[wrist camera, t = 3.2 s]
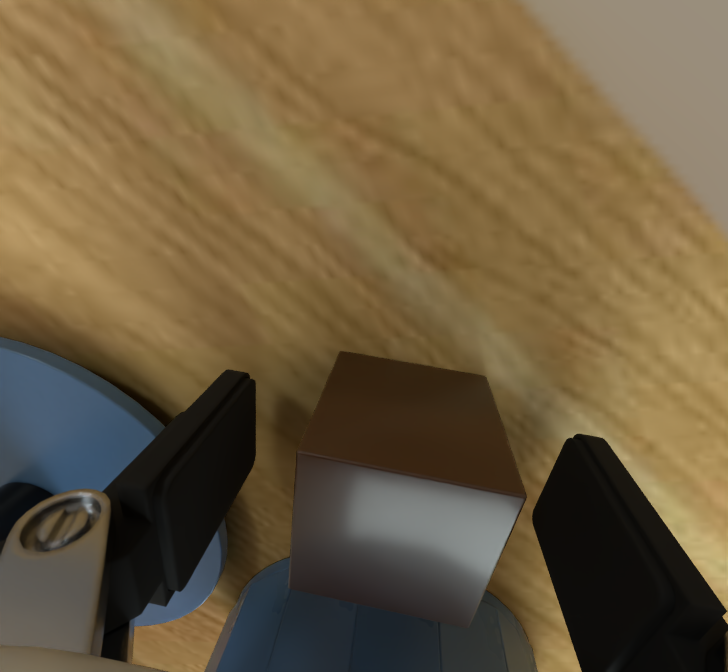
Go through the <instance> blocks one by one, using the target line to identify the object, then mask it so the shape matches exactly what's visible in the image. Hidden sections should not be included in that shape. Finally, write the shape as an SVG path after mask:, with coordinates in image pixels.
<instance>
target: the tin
mask: <svg viewBox="0 0 728 672" xmlns="http://www.w3.org/2000/svg"><path fill="white" fill-rule="evenodd" d="M289 565H290V557H289V558H286V559H283V560H281V561H278V562H276V563H274V564H272V565H270V566H268V567H267V568H265V569H263V570H262V571H261V572H259V573H258V574H257V575H255V576H254V577H253V578H252V579H251V580H250V581H249V583H248V584H247V585H246V586H245V587H244V589H243V591H242V592H241V594H240V596H239V598H238V600H237V603H236V605H235V606H234V608H233V609H232V610H231V611H230V613H229V615H228V618H227V620H226V622H225V625H224V627H223V629H222V632H221V634H220V636H219V639H218V641H217V644H216V646H215V648H214V651H213V653H212V655H211V658H210V660H209V662H208V665H207V667H206V669H205V672H538V670H537V666H536V662H535V658H534V654H533V650H532V647H531V645H530V644H529V641H528V638H527V636H526V634H525V632H524V630H523V628H522V626H521V624H520V623H519V622H518V620H517V619H516V618H515V616H514V615H513V614H512V613H511V611H510V610H509V609H508V608H507V607H506V606H505V605H503V604H502V603H501V602H500V601H499V600H498V599H497V598H496V597H494V596H493V595H492V594H490V593H489V592H488V591H486V590H485V593H484V595H483V597H482V599H481V601H480V604H479V606H478V608H477V610H476V613H475V615H474V617H473V619H472V622H471V624H470V626H469V628H463V627H458V626H454V625H449V624H445V623H440V622H436V621H431V620H427V619H423V618H418V617H414V616H409V615H405V614H400V613H396V612H391V611H387V610H382V609H378V608H373V607H369V606H364V605H360V604H355V603H351V602H346V601H342V600H337V599H333V598H328V597H324V596H319V595H315V594H310V593H306V592H301V591H297V590H292V589H289V588H288V581H289Z"/></svg>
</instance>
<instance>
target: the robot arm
mask: <svg viewBox="0 0 728 672" xmlns="http://www.w3.org/2000/svg"><path fill="white" fill-rule="evenodd" d="M255 456H256V383H255V380H254V379H250V375H249V374H248V373H245V372H240V371H235V370H229V369H228V370H225V371H224V372H223V373H222V374H221V375H220V376H219V377H218V378H217V379H216V380H215V381H214V382H213V383H212V384H211V385H210V387H209V388H208V389H207V390H206V391H205V392H204V393H203V394H202V395H201V396H200V397H199V398H198V399H197V400H196V401H195V402H194V403H193V404H192V405H191V406H190V407H189V408H188V409H187V410H186V411H185V412H182V413H180V414H179V415H178V416H176V417H175V418H174V419H173V420H172V421H171V422H170V423H169V424H168V425H167V426H166V427H165V428H164V429H163V430H162V431H161V432H160V433H159V435H158V436H157V437H156V438H155V439H154V440H153V441H152V442H151V443H150V444H149V445H148V446H147V447H146V448H145V449H144V450H143V451H142V452H141V453H140V454H139V455H138V456H137V457H136V458H135V459H134V460H133V461H132V462H131V463H130V464H129V465H128V466H127V467H126V468H125V469H124V470H123V471H122V472H121V473H120V474H119V475H118V476H117V477H116V478H115V479H114V480H113V481H112V482H111V483H110V484H109V485H108V486H107V487H106V488H105V489H104V490H103V491H102V492H100V491H98V490H94V489H85V488H84V489H76V490H70V491H67V492H63V493H60V494H57V495H54V496H52V497H50V498H48V499H46V500H44V501H42V502H40V503H39V504H37V505H36V506H34V507H33V508H31V509H30V510H29V511H27V512H26V513H25V514H24V515H23V516H22V517H21V518H20V519H19V520H18V521H17V522H16V523H15V525H14V526H13V528H12V530H11V531H10V533H9V535H8V537H7V539H6V540H3V541H0V672H168V671H163V670H158V669H154V668H149V667H144V666H140V665H135V664H132V656H133V640H134V624H135V618H136V617H138V616H139V615H141V614H142V613H143V611H144V609H145V608H146V606H147V605H148V603H151V604H155V605H160V606H164V607H166V606H167V605H168V603H169V601H170V599H171V598H172V596H173V594H174V593H175V591H178V592H181V591H182V590H183V589H184V588H185V587H186V585H187V583H188V582H189V580H190V578H191V576H192V575H193V573H194V571H195V569H196V567H197V566H198V564H199V562H200V560H201V558H202V557H203V555H204V553H205V551H206V550H207V548H208V546H209V544H210V542H211V541H212V539H213V537H214V535H215V533H216V532H217V530H218V528H219V526H220V525H221V523H222V521H223V519H224V517H225V516H226V514H227V512H228V510H229V508H230V507H231V505H232V503H233V501H234V499H235V498H236V496H237V494H238V492H239V491H240V489H241V487H242V485H243V483H244V482H245V480H246V478H247V476H248V474H249V473H250V471H251V469H252V467H253V464H254V461H255ZM532 520H533V526H534V529H535V532H536V535H537V538H538V541H539V544H540V547H541V550H542V553H543V556H544V559H545V562H546V565H547V568H548V571H549V574H550V577H551V580H552V583H553V586H554V589H555V592H556V595H557V598H558V601H559V604H560V607H561V610H562V613H563V616H564V619H565V622H566V625H567V628H568V631H569V634H570V637H571V640H572V643H573V646H574V649H575V652H576V655H577V658H578V661H579V664H580V667H581V670H582V672H728V624H727V623H726V622H725V620H724V619H723V617H722V616H723V615H724V614H725V613H726V612H727V610H726V609H725V608H724V606H723V605H722V603H721V602H720V601H719V599H718V598H717V596H716V595H715V594H714V592H713V591H712V589H711V588H710V587H709V585H708V584H707V582H706V581H705V579H704V578H703V577H702V575H701V574H700V572H699V571H698V570H697V568H696V567H695V565H694V564H693V563H692V561H691V560H690V558H689V557H688V556H687V554H686V553H685V551H684V550H683V549H682V547H681V546H680V544H679V543H678V541H677V540H676V539H675V537H674V536H673V534H672V533H671V532H670V530H669V529H668V527H667V526H666V525H665V523H664V522H663V520H662V519H661V518H660V516H659V515H658V513H657V512H656V510H655V509H654V508H653V506H652V505H651V503H650V502H649V501H648V499H647V498H646V496H645V495H644V494H643V492H642V491H641V489H640V488H639V487H638V485H637V484H636V482H635V481H634V480H633V478H632V477H631V475H630V474H629V472H628V471H627V470H626V468H625V467H624V465H623V464H622V463H621V461H620V460H619V458H618V457H617V456H616V454H615V453H614V451H613V450H612V449H611V447H610V446H609V444H608V443H607V442H606V441H605V440H604V439H603V438H600V437H594V436H589V435H584V434H576V435H575V436H574V437H573V438H568V439H567V440H566V441H565V443H564V445H563V448H562V450H561V452H560V454H559V456H558V458H557V460H556V463H555V465H554V467H553V469H552V471H551V473H550V476H549V478H548V480H547V482H546V484H545V486H544V488H543V491H542V493H541V495H540V497H539V499H538V501H537V503H536V506H535V508H534V510H533V515H532Z"/></svg>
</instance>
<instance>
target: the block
mask: <svg viewBox="0 0 728 672" xmlns="http://www.w3.org/2000/svg"><path fill="white" fill-rule="evenodd" d="M526 498H527V495H526V492H525V489H524V486H523V483H522V480H521V477H520V474H519V472H518V469H517V466H516V463H515V460H514V457H513V454H512V451H511V448H510V445H509V442H508V439H507V436H506V434H505V431H504V428H503V425H502V422H501V419H500V416H499V413H498V410H497V407H496V404H495V401H494V398H493V396H492V393H491V390H490V387H489V384H488V381H487V378H486V377H485V376H481V375H475V374H469V373H464V372H458V371H452V370H447V369H441V368H435V367H430V366H424V365H418V364H413V363H407V362H401V361H395V360H390V359H384V358H378V357H373V356H367V355H361V354H356V353H350V352H344V351H340V352H339V354H338V356H337V359H336V361H335V363H334V366H333V368H332V370H331V373H330V375H329V377H328V380H327V382H326V384H325V387H324V389H323V391H322V394H321V396H320V398H319V401H318V403H317V405H316V408H315V410H314V412H313V415H312V417H311V419H310V422H309V424H308V426H307V429H306V431H305V433H304V435H303V438H302V440H301V442H300V445H299V447H298V449H297V452H296V468H295V484H294V500H293V516H292V533H291V549H290V565H289V581H288V588H289V589H292V590H297V591H301V592H306V593H310V594H315V595H319V596H324V597H328V598H333V599H337V600H342V601H346V602H351V603H355V604H360V605H364V606H369V607H373V608H378V609H382V610H387V611H391V612H396V613H400V614H405V615H409V616H414V617H418V618H423V619H427V620H431V621H436V622H440V623H445V624H449V625H454V626H458V627H463V628H469V626H470V624H471V622H472V619H473V617H474V615H475V613H476V610H477V608H478V606H479V604H480V601H481V599H482V597H483V595H484V593H485V590H486V588H487V586H488V584H489V581H490V579H491V577H492V575H493V572H494V570H495V568H496V566H497V563H498V561H499V559H500V557H501V554H502V552H503V550H504V548H505V545H506V543H507V541H508V539H509V537H510V534H511V532H512V530H513V528H514V525H515V523H516V521H517V519H518V516H519V514H520V512H521V510H522V507H523V505H524V503H525V501H526Z"/></svg>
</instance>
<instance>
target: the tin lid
mask: <svg viewBox="0 0 728 672" xmlns="http://www.w3.org/2000/svg"><path fill="white" fill-rule="evenodd" d="M164 428H165V426H164V425H163V424H162V423H161V422H160V421H159V420H158V419H156V418H155V417H154V416H153V415H152V414H151V413H149V412H148V411H147V410H146V409H145V408H143V407H142V406H141V405H140V404H139V403H138V402H136V401H135V400H134V399H132V398H131V397H129V396H128V395H126V394H125V393H124V392H122V391H121V390H119V389H118V388H117V387H115V386H114V385H112V384H111V383H109V382H108V381H106V380H104V379H102V378H101V377H99V376H97V375H96V374H94V373H92V372H90V371H89V370H87V369H85V368H83V367H82V366H80V365H77V364H75V363H73V362H71V361H69V360H67V359H65V358H62V357H60V356H58V355H56V354H54V353H51V352H49V351H46V350H43V349H40V348H37V347H35V346H32V345H29V344H26V343H23V342H19V341H15V340H11V339H7V338H3V337H0V541H3V540H6V539H7V537H8V535H9V533H10V531H11V530H12V528H13V526H14V525H15V523H16V522H17V521H18V520H19V519H20V518H21V517H22V516H23V515H24V514H25V513H26V512H27V511H29V510H30V509H31V508H33V507H34V506H36V505H37V504H39V503H40V502H42V501H44V500H46V499H48V498H50V497H52V496H54V495H57V494H60V493H63V492H67V491H70V490H76V489H84V488H85V489H94V490H98V491H100V492H102V491H103V490H104V489H105V488H106V487H107V486H108V485H109V484H110V483H111V482H112V481H113V480H114V479H115V478H116V477H117V476H118V475H119V474H120V473H121V472H122V471H123V470H124V469H125V468H126V467H127V466H128V465H129V464H130V463H131V462H132V461H133V460H134V459H135V458H136V457H137V456H138V455H139V454H140V453H141V452H142V451H143V450H144V449H145V448H146V447H147V446H148V445H149V444H150V443H151V442H152V441H153V440H154V439H155V438H156V437H157V436H158V435H159V433H160V432H161V431H162V430H163V429H164ZM227 546H228V537H227V530H226V523H225V519H223V521H222V523H221V525H220V526H219V528H218V530H217V532H216V533H215V535H214V537H213V539H212V541H211V542H210V544H209V546H208V548H207V550H206V551H205V553H204V555H203V557H202V558H201V560H200V562H199V564H198V566H197V567H196V569H195V571H194V573H193V575H192V576H191V578H190V580H189V582H188V583H187V585H186V587H185V588H184V589H183V590H182V591H181V592H178V591H175V593H174V594H173V596H172V598H171V599H170V601H169V603H168V605H167V606H166V607H164V606H160V605H155V604H151V603H148V605H147V606H146V608H145V609H144V611H143V613H142V614H141V615H139V616H138V617H136V618H135V624H134V626H148V625H155V624H160V623H166V622H169V621H172V620H175V619H178V618H180V617H182V616H184V615H186V614H188V613H190V612H192V611H193V610H195V609H196V608H197V607H199V606H200V605H201V604H203V603H204V601H205V600H206V599H207V598H208V597H209V596H210V594H211V593H212V592H213V590H214V588H215V586H216V584H217V582H218V580H219V578H220V576H221V574H222V572H223V570H224V566H225V562H226V558H227Z"/></svg>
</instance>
